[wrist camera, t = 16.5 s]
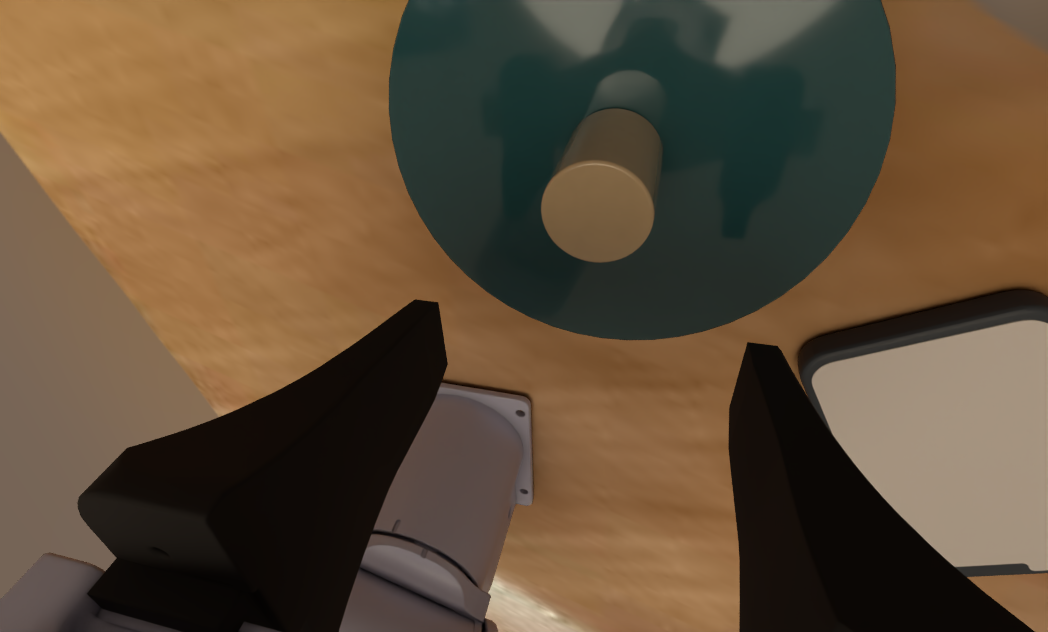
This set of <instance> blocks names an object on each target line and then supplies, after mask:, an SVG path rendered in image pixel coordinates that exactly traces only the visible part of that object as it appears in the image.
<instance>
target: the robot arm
mask: <svg viewBox="0 0 1048 632" xmlns="http://www.w3.org/2000/svg"><path fill="white" fill-rule="evenodd" d="M447 365H448V363H447V357H446V350H445V344H444V337H443V331H442V324H441V317H440V311H439V304H438V302H430V301H423V300H414V301H412V302H411V303H409V304H408V305H407V306H405V307H404V308H402V309H401V310H400V311H398V312H397V313H396V314H394V315H393V316H392V317H390V318H389V319H388V320H386V321H385V322H384V323H382V324H381V325H380V326H378V327H377V328H376V329H374V330H373V331H371V332H370V333H369V334H367V335H366V336H365V337H363V338H362V339H360V340H359V341H358V342H356V343H355V344H353V345H352V346H351V347H349V348H348V349H346V350H345V351H343V352H341V353H340V354H338V355H337V356H335V357H334V358H332V359H331V360H329V361H328V362H326V363H325V364H323V365H322V366H320V367H319V368H317V369H315V370H314V371H312V372H310V373H309V374H307V375H305V376H304V377H302V378H300V379H298V380H297V381H295V382H293V383H291V384H289V385H287V386H285V387H284V388H282V389H280V390H278V391H276V392H274V393H272V394H270V395H268V396H266V397H263V398H261V399H259V400H257V401H255V402H253V403H251V404H248V405H246V406H244V407H242V408H240V409H238V410H235V411H233V412H231V413H228V414H226V415H223V416H221V417H218V418H216V419H213V420H211V421H208V422H206V423H203V424H200V425H197V426H195V427H192V428H189V429H186V430H184V431H181V432H178V433H175V434H171V435H168V436H165V437H162V438H159V439H155V440H152V441H149V442H146V443H143V444H139V445H136V446H132V447H129V448H127V449H126V450H125V451H124V452H123V453H122V454H121V455H120V456H119V457H118V458H117V459H116V460H115V461H114V462H113V463H112V464H111V465H110V466H109V467H108V468H107V469H106V470H105V471H104V472H103V473H102V474H101V475H100V476H99V477H98V478H97V479H96V480H95V481H94V482H93V483H92V484H91V485H90V486H89V487H88V488H87V489H86V490H85V491H84V492H83V493H82V494H81V495H80V497H79V500H78V510H79V512H80V515H81V517H82V518H83V520H84V521H85V522H86V524H87V525H88V526H89V527H90V529H91V530H92V531H93V532H94V533H95V534H96V535H97V536H98V537H99V538H100V540H101V541H102V542H103V543H104V544H105V545H106V546H107V548H108V549H109V550H110V551H111V552H112V553H113V554H114V555H115V556H116V557H117V559H116V560H115V561H114V562H113V563H112V564H111V566H110V567H109V568H108V569H107V570H106V571H104V570H102V569H101V568H99V567H97V566H95V565H93V564H90V563H87V562H84V561H80V560H76V559H72V558H68V557H65V556H61V555H57V554H53V553H45V554H43V555H42V556H41V557H40V558H39V560H38V561H37V562H36V563H35V564H34V565H33V566H32V567H31V568H30V569H29V570H28V571H27V572H26V573H25V574H24V575H23V576H22V578H20V580H19V581H18V582H17V583H16V584H15V585H14V586H13V587H12V588H11V589H10V590H9V591H8V592H7V593H6V594H5V595H4V596H3V597H2V598H1V600H0V632H498V629H497V626H496V624H495V623H494V622H493V621H492V620H489V619H486V618H485V615H486V612H487V608H488V605H489V601H490V598H491V596H490V594H488V592H489V590H490V588H491V585H492V582H493V578H494V575H495V572H496V568H497V565H498V562H499V558H500V555H501V551H502V548H503V545H504V541H505V538H506V535H507V531H508V528H509V524H510V521H511V518H512V514H513V511H514V507H515V504H520V505H526V506H528V505H531V504H532V502H533V463H532V428H531V403H530V401H529V399H528V398H526V397H524V396H520V395H514V394H508V393H502V392H496V391H489V390H483V389H477V388H471V387H465V386H459V385H453V384H447V383H441V382H442V379H443V376H444V373H445V371H446V368H447ZM520 410H521V411H520ZM522 411H523V412H522ZM729 456H730V466H731V476H732V485H733V494H734V503H735V513H736V522H737V531H738V541H739V557H740V632H1034V631H1033V630H1032V629H1031V628H1029V627H1028V626H1027V625H1025V624H1024V623H1023V622H1022V621H1020V620H1019V619H1018V618H1016V617H1015V616H1014V615H1013V614H1011V613H1010V612H1009V611H1008V610H1006V609H1005V608H1004V607H1002V606H1001V605H1000V604H999V603H997V602H996V601H995V600H993V599H992V598H991V597H990V596H988V595H987V594H986V593H985V592H983V591H982V590H981V589H980V588H979V587H977V586H976V585H975V584H974V583H973V582H972V581H970V580H969V579H968V578H967V577H966V576H965V575H963V574H962V573H961V572H960V571H959V570H958V569H957V568H955V567H954V566H953V565H952V564H951V563H950V562H948V561H947V560H946V559H945V558H944V557H943V556H942V555H941V554H940V553H939V552H937V551H936V550H935V549H934V548H933V547H932V546H931V545H930V544H929V543H928V542H927V541H926V540H925V539H924V538H923V537H922V536H921V535H920V534H919V533H918V532H917V531H916V530H915V529H913V528H912V527H911V526H910V525H909V524H908V523H907V522H906V521H905V520H904V519H903V518H902V517H901V516H900V515H899V514H898V513H897V512H896V511H895V510H894V509H893V508H892V506H891V505H890V504H889V503H888V502H887V501H886V500H885V499H884V498H883V497H882V496H881V495H880V493H879V492H878V491H877V490H876V489H875V488H874V487H873V485H872V484H871V483H870V482H869V481H868V480H867V478H866V477H865V476H864V475H863V474H862V472H861V471H860V470H859V469H858V467H857V466H856V465H855V464H854V462H853V461H852V460H851V459H850V457H849V456H848V455H847V453H846V452H845V451H844V449H843V448H842V447H841V445H840V444H839V443H838V441H837V440H836V439H835V437H834V436H833V434H832V433H831V432H830V430H829V429H828V427H827V426H826V424H825V423H824V421H823V420H822V418H821V417H820V415H819V414H818V412H817V411H816V409H815V408H814V406H813V405H812V403H811V402H810V400H809V398H808V397H807V395H806V394H805V392H804V390H803V389H802V387H801V385H800V384H799V382H798V380H797V378H796V377H795V375H794V373H793V372H792V370H791V368H790V366H789V364H788V363H787V361H786V359H785V357H784V355H783V353H782V351H781V350H780V349H779V348H778V346H773V345H765V344H757V343H749V342H748V343H747V346H746V350H745V353H744V357H743V361H742V364H741V368H740V371H739V375H738V378H737V382H736V386H735V389H734V393H733V396H732V400H731V404H730V408H729Z"/></svg>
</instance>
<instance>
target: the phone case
mask: <svg viewBox="0 0 1048 632" xmlns="http://www.w3.org/2000/svg"><path fill="white" fill-rule="evenodd" d="M798 368H799V374H800V378H801V381H802V384H803V386H804V388H805V391H806V393H807V396H808V398H809V400H810V402H811V403H812V405H813V406H814V408H815V409H816V411H817V412H818V414H819V415H820V417H821V418H822V420H823V421H824V423H825V424H826V426H827V427H828V429H829V430H830V432H831V433H832V434H833V436H834V437H835V439H836V440H837V441H838V443H839V444H840V445H841V447H842V448H843V449H844V451H845V452H846V453H847V455H848V456H849V457H850V459H851V460H852V461H853V462H854V464H855V465H856V466H857V467H858V469H859V470H860V471H861V472H862V474H863V475H864V476H865V477H866V478H867V480H868V481H869V482H870V483H871V484H872V485H873V487H874V488H875V489H876V490H877V491H878V492H879V493H880V495H881V496H882V497H883V498H884V499H885V500H886V501H887V502H888V503H889V504H890V505H891V506H892V508H893V509H894V510H895V511H896V512H897V513H898V514H899V515H900V516H901V517H902V518H903V519H904V520H905V521H906V522H907V523H908V524H909V525H910V526H911V527H912V528H913V529H915V530H916V531H917V532H918V533H919V534H920V535H921V536H922V537H923V538H924V539H925V540H926V541H927V542H928V543H929V544H930V545H931V546H932V547H933V548H934V549H935V550H936V551H937V552H939V553H940V554H941V555H942V556H943V557H944V558H945V559H946V560H947V561H948V562H950V563H951V564H952V565H953V566H954V567H955V568H957V569H958V570H959V571H960V572H961V573H962V574H963V575H965V576H966V577H974V576H994V575H1015V574H1036V573H1048V297H1046V296H1045V295H1043V294H1040V293H1038V292H1034V291H1027V290H1013V291H1007V292H1002V293H998V294H994V295H990V296H986V297H982V298H977V299H973V300H969V301H965V302H961V303H957V304H953V305H949V306H944V307H940V308H936V309H932V310H928V311H924V312H920V313H916V314H912V315H907V316H903V317H899V318H895V319H891V320H887V321H883V322H879V323H875V324H870V325H866V326H862V327H858V328H854V329H850V330H846V331H842V332H838V333H833V334H829V335H825V336H822V337H819V338H816V339H814V340H812V341H810V342H809V343H808V344H806V345H805V346H804V347H803V348H802V350H801V351H800V353H799V356H798Z"/></svg>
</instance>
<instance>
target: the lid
mask: <svg viewBox="0 0 1048 632" xmlns="http://www.w3.org/2000/svg"><path fill="white" fill-rule="evenodd" d="M895 104H896V64H895V58H894V51H893V45H892V38H891V32H890V27H889V24H888V21H887V17H886V14H885V11H884V8H883V5H882V2H881V0H409V1H408V3H407V5H406V8H405V10H404V12H403V15H402V18H401V22H400V25H399V29H398V33H397V36H396V40H395V44H394V48H393V55H392V62H391V70H390V77H389V115H390V124H391V133H392V140H393V144H394V149H395V153H396V157H397V161H398V166H399V169H400V172H401V174H402V177H403V180H404V183H405V185H406V188H407V191H408V193H409V195H410V197H411V199H412V201H413V203H414V205H415V207H416V209H417V211H418V213H419V215H420V217H421V219H422V220H423V222H424V223H425V225H426V227H427V228H428V230H429V231H430V233H431V234H432V236H433V238H434V239H435V240H436V241H437V243H438V244H439V245H440V246H441V248H442V249H443V250H444V251H445V253H446V254H447V255H448V256H449V258H450V259H451V260H452V261H453V262H454V263H455V264H456V265H457V266H458V267H459V268H460V269H461V270H462V271H463V272H464V273H465V274H466V275H467V276H468V277H469V278H471V279H472V280H473V281H474V282H476V283H477V284H478V285H479V286H480V287H482V288H483V289H484V290H485V291H487V292H488V293H489V294H491V295H493V296H494V297H496V298H497V299H499V300H500V301H502V302H503V303H505V304H506V305H508V306H510V307H511V308H513V309H515V310H517V311H519V312H521V313H523V314H525V315H527V316H529V317H531V318H533V319H536V320H538V321H541V322H543V323H546V324H548V325H551V326H553V327H557V328H560V329H563V330H567V331H570V332H574V333H577V334H583V335H588V336H593V337H599V338H607V339H619V340H655V339H664V338H673V337H680V336H685V335H689V334H694V333H699V332H703V331H706V330H710V329H713V328H716V327H719V326H722V325H725V324H728V323H731V322H733V321H735V320H737V319H740V318H742V317H744V316H746V315H748V314H751V313H753V312H755V311H757V310H759V309H760V308H762V307H764V306H766V305H767V304H769V303H771V302H772V301H774V300H776V299H777V298H779V297H781V296H782V295H783V294H785V293H786V292H787V291H789V290H790V289H791V288H793V287H794V286H795V285H797V284H798V283H799V282H801V281H802V280H803V279H805V278H806V277H807V276H808V275H809V274H810V273H811V272H812V271H813V270H814V269H815V268H816V267H817V266H818V265H820V264H821V263H822V262H823V261H824V260H825V259H826V258H827V257H828V256H829V254H830V253H831V252H832V251H833V250H834V248H835V247H836V246H837V245H838V244H839V242H840V241H841V240H842V239H843V237H844V236H845V235H846V234H847V233H848V231H849V229H850V228H851V226H852V225H853V223H854V222H855V220H856V218H857V217H858V215H859V214H860V212H861V210H862V209H863V207H864V206H865V204H866V202H867V200H868V198H869V195H870V193H871V191H872V189H873V187H874V185H875V183H876V180H877V178H878V176H879V174H880V171H881V168H882V164H883V161H884V158H885V155H886V151H887V148H888V145H889V141H890V137H891V130H892V124H893V117H894V111H895Z"/></svg>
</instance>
